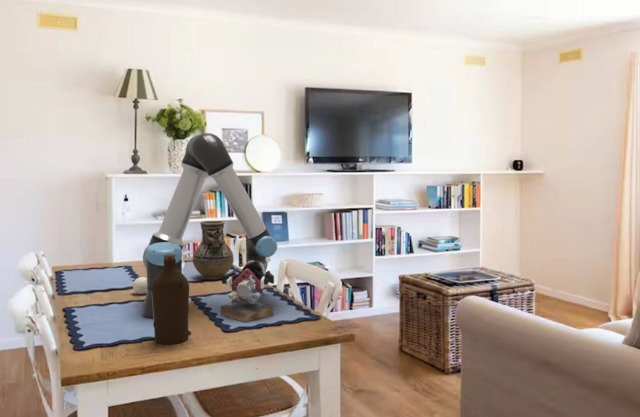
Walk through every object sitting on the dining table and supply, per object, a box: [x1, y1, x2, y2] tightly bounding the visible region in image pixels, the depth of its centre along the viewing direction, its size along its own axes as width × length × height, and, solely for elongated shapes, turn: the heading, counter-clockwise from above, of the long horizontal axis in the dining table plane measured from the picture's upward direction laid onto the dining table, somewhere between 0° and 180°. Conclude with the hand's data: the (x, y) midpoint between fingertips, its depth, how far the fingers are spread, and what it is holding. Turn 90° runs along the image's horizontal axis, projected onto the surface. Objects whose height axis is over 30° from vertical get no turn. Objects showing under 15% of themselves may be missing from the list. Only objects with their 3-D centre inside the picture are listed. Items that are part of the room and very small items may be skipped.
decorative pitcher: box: [192, 220, 234, 281], centre depth 257 cm, size 22×18×25 cm
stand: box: [220, 301, 274, 323], centre depth 196 cm, size 12×13×3 cm
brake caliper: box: [227, 269, 264, 305], centre depth 193 cm, size 11×11×12 cm
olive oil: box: [151, 254, 190, 345], centre depth 168 cm, size 11×11×25 cm
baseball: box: [132, 276, 147, 295], centre depth 227 cm, size 7×7×7 cm
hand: (244, 284), depth 191 cm, fingers closed on brake caliper, 10 cm apart
